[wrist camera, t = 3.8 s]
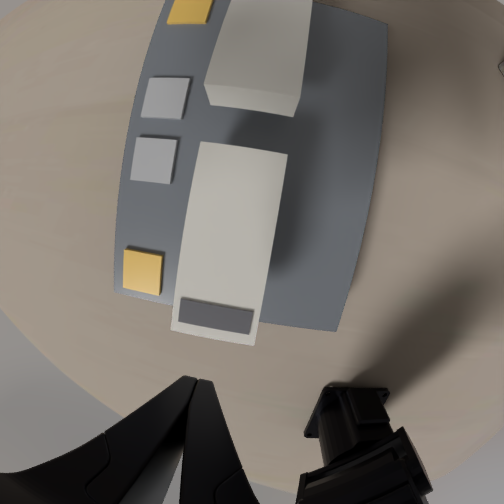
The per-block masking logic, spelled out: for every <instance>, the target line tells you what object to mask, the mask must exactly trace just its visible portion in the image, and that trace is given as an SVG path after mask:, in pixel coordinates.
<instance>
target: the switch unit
mask: <svg viewBox="0 0 504 504" xmlns="http://www.w3.org/2000/svg"><path fill="white" fill-rule="evenodd" d="M230 2H231V0H165V3H164V5H163V8H162V11H161V13H160V16H159V19H158V21H157V24H156V27H155V30H154V33H153V36H152V39H151V42H150V45H149V48H148V51H147V54H146V58H145V61H144V64H143V68H142V72H141V75H140V79H139V83H138V87H137V91H136V95H135V99H134V104H133V108H132V113H131V117H130V122H129V127H128V133H127V138H126V144H125V150H124V156H123V163H122V170H121V178H120V186H119V195H118V205H117V217H116V231H115V252H114V292H116V293H120V294H124V295H128V296H132V297H136V298H140V299H145V300H149V301H153V302H158V303H162V304H167V305H172V306H173V303H174V295H175V286H176V278H177V271H178V264H179V257H180V250H181V243H182V237H183V230H184V224H185V218H186V213H187V207H188V201H189V196H190V190H191V185H192V180H193V175H194V170H195V165H196V160H197V156H198V151H199V146H200V142H201V141H202V142H211V143H219V144H226V145H234V146H240V147H247V148H253V149H260V150H265V151H271V152H277V153H282V154H287V155H288V156H287V162H286V169H285V175H284V181H283V187H282V193H281V199H280V205H279V211H278V217H277V223H276V229H275V234H274V240H273V246H272V252H271V257H270V263H269V268H268V274H267V280H266V285H265V291H264V296H263V301H262V307H261V312H260V317H259V322H264V323H271V324H278V325H285V326H292V327H299V328H307V329H315V330H324V331H332V332H336V331H337V328H338V325H339V322H340V319H341V315H342V312H343V309H344V306H345V302H346V299H347V296H348V292H349V289H350V285H351V281H352V278H353V274H354V270H355V266H356V263H357V259H358V255H359V251H360V246H361V242H362V238H363V234H364V229H365V225H366V220H367V215H368V210H369V205H370V200H371V195H372V190H373V184H374V178H375V172H376V166H377V160H378V153H379V146H380V138H381V130H382V122H383V112H384V101H385V89H386V73H387V45H388V24H386V23H383V22H380V21H378V20H375V19H372V18H369V17H366V16H363V15H360V14H357V13H354V12H350V11H347V10H344V9H340V8H336V7H333V6H329V5H325V4H320V3H316V2H312V10H311V18H310V27H309V35H308V43H307V51H306V59H305V66H304V74H303V81H302V88H301V95H300V99H299V102H298V105H297V108H296V110H295V113H294V116H293V117H289V116H284V115H279V114H273V113H267V112H261V111H255V110H248V109H240V108H233V107H224V106H215V105H210V102H209V99H208V96H207V93H206V90H205V87H204V81H205V77H206V74H207V71H208V67H209V64H210V61H211V57H212V54H213V51H214V48H215V45H216V42H217V39H218V36H219V33H220V30H221V27H222V24H223V21H224V18H225V15H226V13H227V10H228V7H229V5H230Z"/></svg>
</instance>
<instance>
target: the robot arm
mask: <svg viewBox="0 0 504 504" xmlns="http://www.w3.org/2000/svg"><path fill="white" fill-rule="evenodd" d="M328 392H330V393H328ZM326 393H328V394H326ZM384 393H385V394H384ZM389 394H390V392H389V390H388V389H387V388H337V387H327V388H324V389H323V390H322V392H321V394H320V397H319V399H318V402H317V404H316V406H315V408H314V411H313V413H312V415H311V417H310V420H309V422H308V424H307V426H306V428H305V431H304V436H305V437H306V438H319V442H320V447H321V452H322V458H323V463H324V467H322V468H320V469H317V470H314V471H312V472H309V473H308V472H306V473H304V474H301V475H300V481H299V487H298V492H297V498H296V503H295V504H428V501H427V499H426V496H425V495H426V494H428V493H430V492H432V491H433V488H432V485H431V483H430V480H429V478H428V475H427V472H426V470H425V467H424V465H423V463H422V461H421V459H420V457H419V455H418V453H417V451H416V449H415V447H414V445H413V443H412V441H411V439H410V438H409V436H408V434H407V432H406V431H405V429H404V427H403V426H402V427H401V428H399V429H397V431H396V432H393V430H392V428H391V426H390V423H389V422H390V418H389V416H388V414H387V412H386V410H385V408H384V406H383V405H384V404H385V402H386V400H387V398H388V396H389ZM104 433H105V434H104ZM104 433H101V434H100V435H98V436H97V437H95V438H93V439H92V440H90V441H88V442H87V443H85V444H83V445H82V446H80V447H78V448H76V449H74V450H72V451H70V452H68V453H66V454H64V455H62V456H59V457H57V458H54V459H52V460H50V461H47V462H45V463H42V464H40V465H37V466H35V467H32V468H29V469H27V470H23V471H19V472H14V473H0V504H162V503H163V501H164V498H165V496H166V493H167V491H168V488H169V485H170V483H171V481H172V478H173V476H174V473H175V470H176V468H177V466H178V463H179V461H180V458H181V455H182V453H183V460H182V472H181V484H180V499H179V504H260V503H259V502H258V500H257V498H256V497H255V495H254V493H253V491H252V488H251V486H250V484H249V482H248V480H247V477H246V475H245V472H244V470H243V469H242V465H241V462H240V460H239V457H238V454H237V452H236V449H235V446H234V444H233V441H232V438H231V435H230V432H229V430H228V427H227V424H226V421H225V418H224V415H223V412H222V409H221V406H220V403H219V400H218V397H217V394H216V391H215V388H214V384H213V382H212V381H209V380H204V379H199V380H197V378H195V377H190V376H185V375H184V376H182V377H181V378H179V379H178V380H177V381H175V382H174V383H173V384H171V385H170V386H169V387H167V388H166V389H165V390H163V391H162V392H160V393H159V394H158V395H156V396H155V397H154V398H152V399H151V400H149V401H148V402H147V403H145V404H144V405H142V406H141V407H139V408H138V409H137V410H135V411H134V412H132V413H131V414H129V415H128V416H127V417H125V418H124V419H122V420H121V421H119V422H118V423H116V424H115V425H113V426H112V427H110V428H109V429H107V430H106V431H105V432H104Z"/></svg>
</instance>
